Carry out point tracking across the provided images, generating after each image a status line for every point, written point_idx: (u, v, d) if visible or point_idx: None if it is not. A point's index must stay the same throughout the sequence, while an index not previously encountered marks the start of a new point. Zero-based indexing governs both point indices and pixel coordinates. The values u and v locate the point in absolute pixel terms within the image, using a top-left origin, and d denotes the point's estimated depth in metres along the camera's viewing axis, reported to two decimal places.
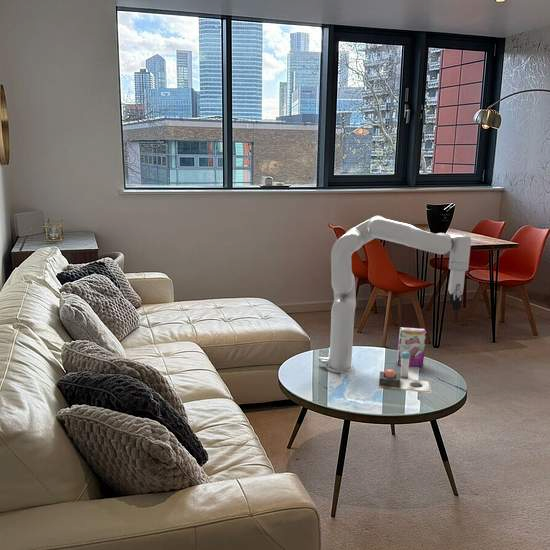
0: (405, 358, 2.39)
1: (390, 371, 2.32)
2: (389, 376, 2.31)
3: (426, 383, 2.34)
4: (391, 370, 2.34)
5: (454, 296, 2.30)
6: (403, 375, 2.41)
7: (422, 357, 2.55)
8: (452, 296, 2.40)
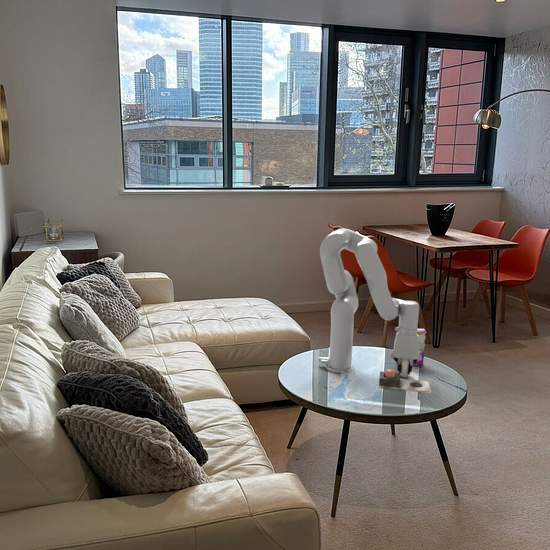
0: None
1: (390, 371, 2.32)
2: (389, 376, 2.31)
3: (426, 383, 2.34)
4: (391, 370, 2.34)
5: (413, 362, 2.39)
6: (403, 375, 2.41)
7: (422, 357, 2.55)
8: None
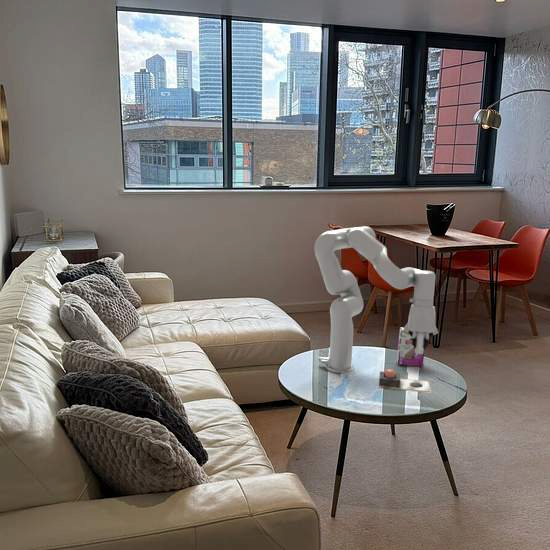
0: None
1: (390, 371, 2.32)
2: (389, 376, 2.31)
3: (426, 383, 2.34)
4: (391, 370, 2.34)
5: (428, 336, 2.26)
6: (418, 350, 2.27)
7: (422, 357, 2.55)
8: None
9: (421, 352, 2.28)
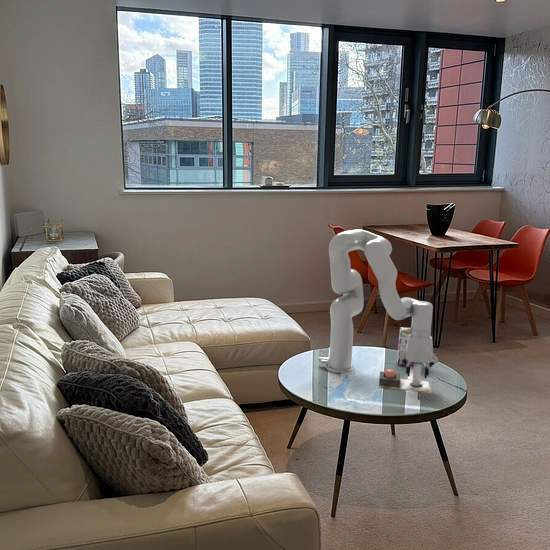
0: (418, 364, 2.28)
1: (390, 371, 2.32)
2: (389, 376, 2.31)
3: (426, 383, 2.34)
4: (391, 370, 2.34)
5: (429, 365, 2.28)
6: (415, 382, 2.30)
7: None
8: None
9: (418, 384, 2.30)
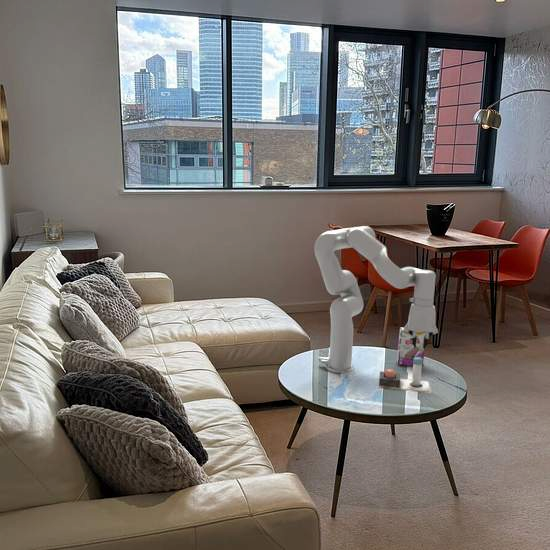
0: (417, 364, 2.28)
1: (390, 371, 2.32)
2: (389, 376, 2.31)
3: (426, 383, 2.34)
4: (391, 370, 2.34)
5: (428, 335, 2.26)
6: (415, 382, 2.30)
7: (422, 357, 2.55)
8: None
9: (418, 384, 2.30)
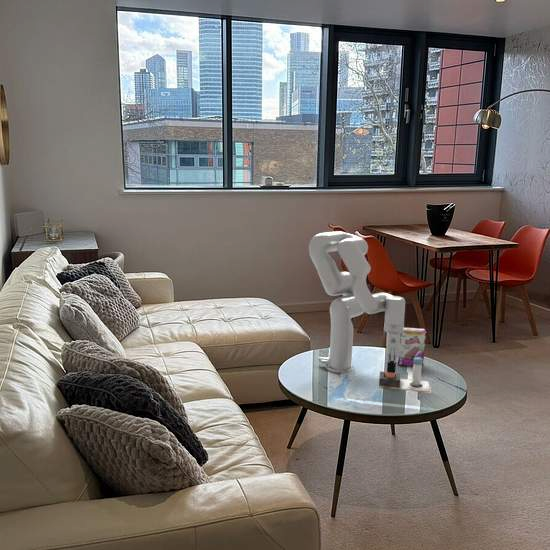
0: (417, 364, 2.28)
1: (390, 372, 2.32)
2: (389, 377, 2.31)
3: (426, 383, 2.34)
4: None
5: None
6: (415, 382, 2.30)
7: (422, 357, 2.55)
8: None
9: (418, 384, 2.30)
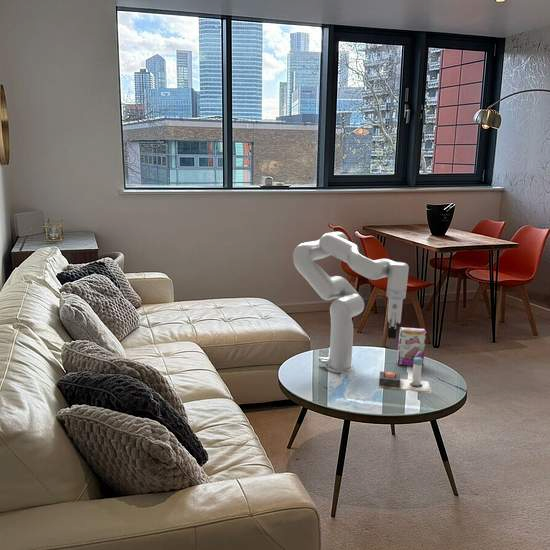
0: (417, 364, 2.28)
1: (390, 374, 2.32)
2: None
3: (426, 383, 2.34)
4: (390, 372, 2.34)
5: None
6: (415, 382, 2.30)
7: (422, 357, 2.55)
8: None
9: (418, 384, 2.30)
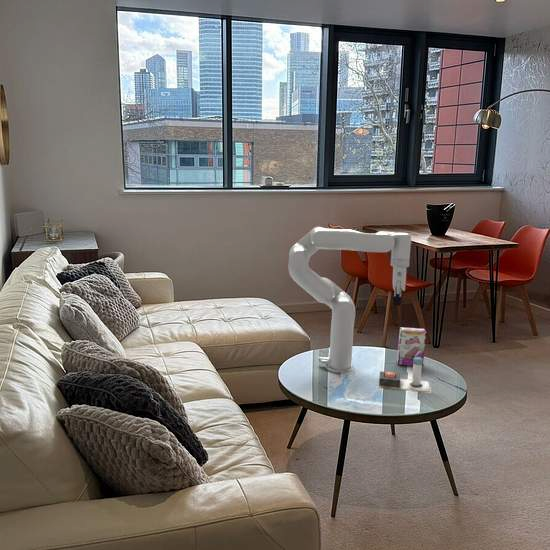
0: (417, 364, 2.28)
1: (390, 374, 2.32)
2: None
3: (426, 383, 2.34)
4: (390, 372, 2.34)
5: None
6: (415, 382, 2.30)
7: (422, 357, 2.55)
8: None
9: (418, 384, 2.30)
